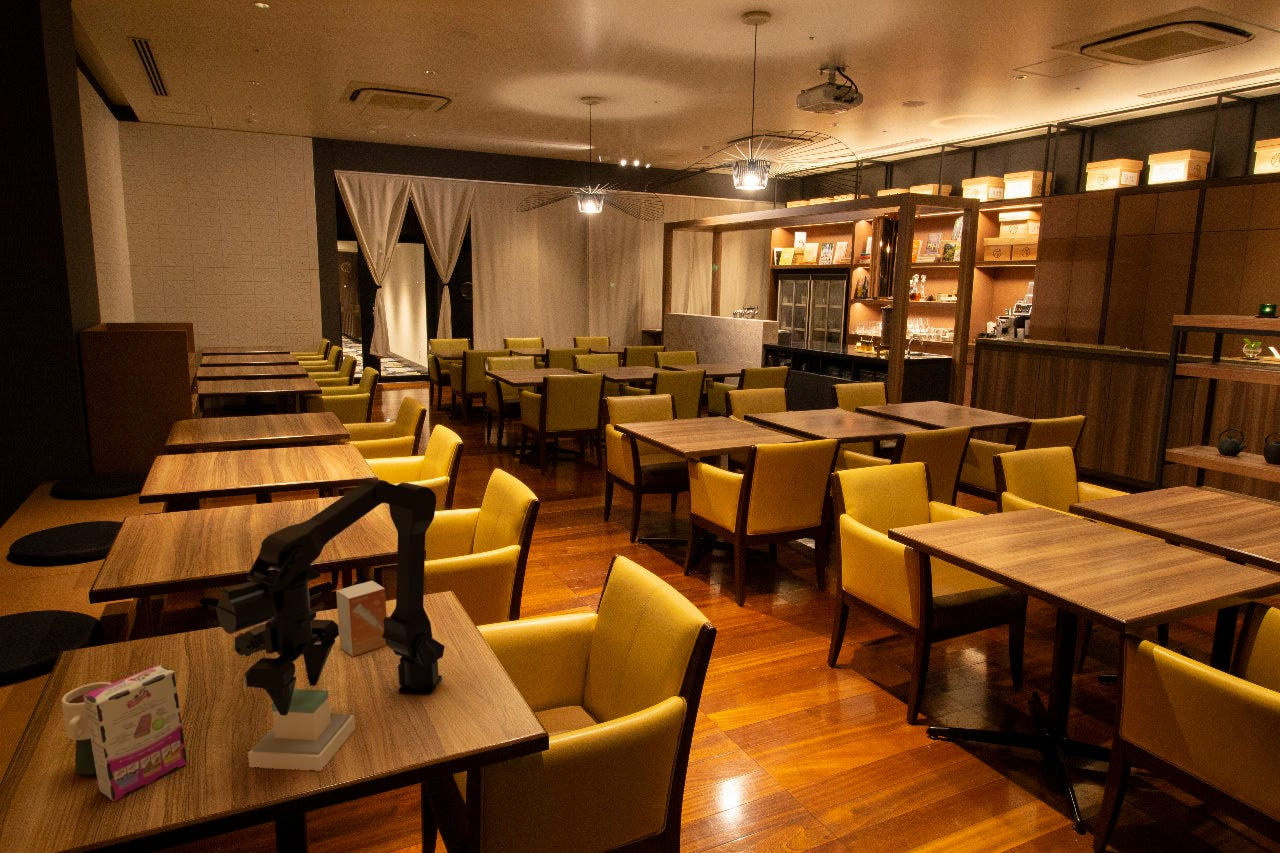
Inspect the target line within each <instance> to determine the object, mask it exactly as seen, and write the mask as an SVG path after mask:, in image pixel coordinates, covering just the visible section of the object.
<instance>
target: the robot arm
mask: <svg viewBox="0 0 1280 853" xmlns="http://www.w3.org/2000/svg"><path fill="white" fill-rule="evenodd" d="M436 494H437V493H436V492H434V491H433V489H431V488H430V487H428V486H423V485H419V484H415V483H410V482H400V483H398V484H395V483H394V484H393V483H390V482H388V481H387V480H383V479H380V478H375V477H368V478H365V479H363V480H362V481H361V482H360V484H359V485H358V486H356V487H355V488H353V489H352V490H350V491H349V492H347V493H346V494H345V495H343V496H341V497H340V498H338V499H337V500H336V501H334V502H333V503H331V504H330V505H329V506H327V507H325V508H324V509H322V510H321V511H320V512H318V513H317V514H315V515H313V516H312V517H311V518H309V519H307V520H304V521H303V522H299V523H295V524H292V525H288V526H286V527H284V528H282V529H279V530H276V531H275V532H273V533H270V534H269V535H268V536H266V538H264V539H263V540H262V541H261V544H260V545H261V546H260V548H259V549H260V550H259V553H258V555H257V557H256V559H255V561H254V562H253V564H252V566H251V568H250V570H249V572H248V574H247V575H246V580H249V581H247V582H244V583H242V584H239V585H235V586H228V587H224V588H223V589H222V590H221V594H222V596H221V597H220V598H219V599H218V602H217V606H216V607H215V608H216V609H215V610H216V615H217V620H218V623H219V624H220V627H222V629H223V631H224V632H226V633H227V634H228V635H233V634H235V633H237V632H240V633H239V634H237V635H236V636H235V637H234V652H236V653H237V655H239V656H244V657H246V658H247V657H249V656H252V654H255V653H259V652H261V651H264V650H265V654H271V655H272V654H274V653H277V655H279V656H277V658H275V657H274V658H273V657H261V658H260V659H259V660H258V661H257V662H255V663H254V664H253V665H252V666H251V667H249V668H248V669H247V670H246V672H245V673H244V681H245V686H246V687H249V688H256V689H263V690H264V691H265V692H266V693H267V695H269V697H270V699H271V701H272V704H273V703H274V705H275V706H276V708H277V710H278V712H279V713H280V715H287V714H288V712H289V708H290V704H291V700H292V696H293V691H294V689H295V688H296V682H297V676H295V673H296V664H295V662H296V661H297V660H298V659H299V658H300V657H302V656H303V659H304V660H303V661H304V664H305V665H304V666H305V669H306V670H305V671H306V674H307V680H308V684H309V686H311V687H315V686H317V685H318V683H319V680H320V678H321V675H322V672H323V670H324V667H325V665H326V663H327V660H328V657H329V655H330V653H331V651H332V648H333V646H334V645H335V643H336V639H337V637H340V635H339V623H337V622H336V621H335V620H333V619H318V618H317V610H311V603H310V602H311V601H310V600H311V599H310V589H309V582H310V581H313V580H315V579H319V578H320V577H321V573H320V572H319V571H317V570H315V569H314V568H312V566H311V565H312V564H313V563H314V562H315V561H316V560H317V559H318V558H319V557H320V556H321V553H322V551H323V549H324V547H325V546H326V545H327V544H328V543H329V542H330V541H331V540H333V539H334V538H335V537H336V536H338V535H339V534H340V533H342V532H343V531H345V530H346V529H348V528H349V527H351V526H352V525H354V523H356V522H357V521H359V520H360V519H362V518H363V517H364V516H365V515H367V514H369V513H370V512H372V510H374V509H376V508H377V507H378V506H380V505H381V504H387V505H388V507H389V514H390V519H391V521H392V522H393V525H394V527H395V529H396V531H397V550H396V551H397V552H396V556H397V557H396V559H397V560H396V589H395V590H396V595H395V596H396V597H395V607H394V609H393V611H392V613H391V615H390V616H387V617H385V618H384V621H383V622H384V633H383V636H382V638H384V639H385V641H386V645H387V647H388V648H389V649H390V650H392V652H393V653H394V655H396V656H400V658H399V663H398V665H397V671H398V673H397V674H398V684H399V686H400V687H399V688H398V690H397V691H398V693H399V694H411V695H412V694H413V695H431V694H433V692H434V690H436V689H437V688H436V687H437V686H438V685H439V683H440V682H441V680H442V679H443V676H442V675H440V674H439V660H440V659H441V658H443V656H444V653H445V645H444V644H442V643H441V642H439V641H438V640H436V639H434V638H433V630H432V623H431V620H430V619H429V616H428V615H427V611H426V610H425V607H424V596H425V595H424V593H425V591H424V590H425V566H426V565H425V564H426V562H425V558H426V533H427V531H428V529H429V527H430V526H431V525H432V523H433V521H434V520H435V519H434V518H435V514H436V513H435V512H436V509H437V508H436V506H437V495H436ZM269 569H273V570H276V571H278V573H277V574H276V573H273V572H270V571H269ZM316 618H317V619H316ZM265 622H266V623H265ZM259 624H260V625H259ZM251 627H252V628H251ZM249 628H250V629H249ZM246 629H249V630H246ZM242 630H243V631H244V630H246V631H245V632H244V633H243V632H241V631H242Z"/></svg>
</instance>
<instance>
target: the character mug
mask: <svg viewBox="0 0 1280 853" xmlns="http://www.w3.org/2000/svg"><path fill="white" fill-rule="evenodd" d="M112 683H113V682H109V681H100V682H99V681H97V682H92V683H88V684H85V685H80V686H79V687H76V688H74V689H72V690H69V691H68V692H67V693H65V694H64V695H63V696H62V698H61V706H62V713H63V719H64V727H65V732H66V736H67V737H68V739H69V740H71V741H75V754H74V756H75V757H74V759H75V760H74V762H75V768H74V769H75V773H77V774H79V775H97V773H96V767H95V762H94V755H93V750H92V744H91V737H90V732H89V725H88V720H87V714H86V709H85V703H84V697H83V695H85V694H88V693H90V692H92V691H95V690H97V689H100V688H102V687H105V686H107V685H110V684H112Z"/></svg>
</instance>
